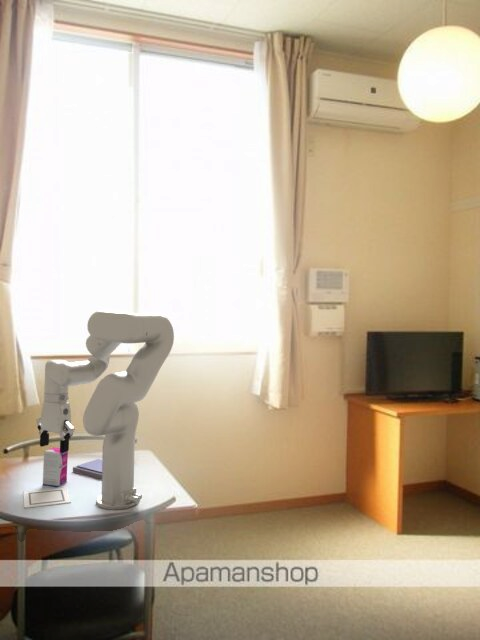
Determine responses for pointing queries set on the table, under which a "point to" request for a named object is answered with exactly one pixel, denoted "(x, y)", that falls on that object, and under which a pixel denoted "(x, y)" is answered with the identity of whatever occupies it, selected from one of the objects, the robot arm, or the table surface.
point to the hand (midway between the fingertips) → (54, 448)
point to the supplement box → (55, 467)
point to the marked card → (46, 497)
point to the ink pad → (90, 469)
